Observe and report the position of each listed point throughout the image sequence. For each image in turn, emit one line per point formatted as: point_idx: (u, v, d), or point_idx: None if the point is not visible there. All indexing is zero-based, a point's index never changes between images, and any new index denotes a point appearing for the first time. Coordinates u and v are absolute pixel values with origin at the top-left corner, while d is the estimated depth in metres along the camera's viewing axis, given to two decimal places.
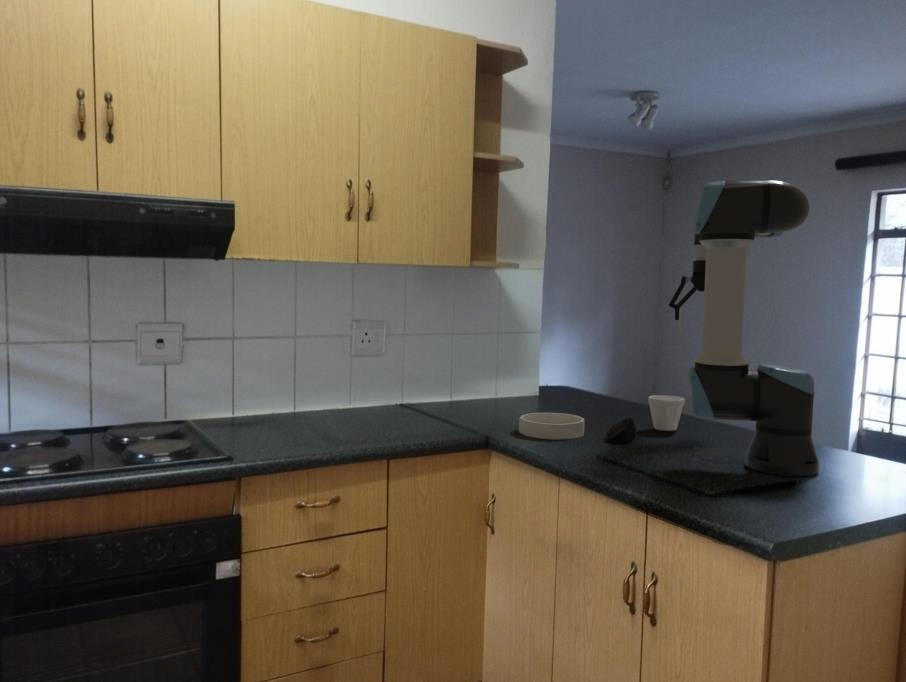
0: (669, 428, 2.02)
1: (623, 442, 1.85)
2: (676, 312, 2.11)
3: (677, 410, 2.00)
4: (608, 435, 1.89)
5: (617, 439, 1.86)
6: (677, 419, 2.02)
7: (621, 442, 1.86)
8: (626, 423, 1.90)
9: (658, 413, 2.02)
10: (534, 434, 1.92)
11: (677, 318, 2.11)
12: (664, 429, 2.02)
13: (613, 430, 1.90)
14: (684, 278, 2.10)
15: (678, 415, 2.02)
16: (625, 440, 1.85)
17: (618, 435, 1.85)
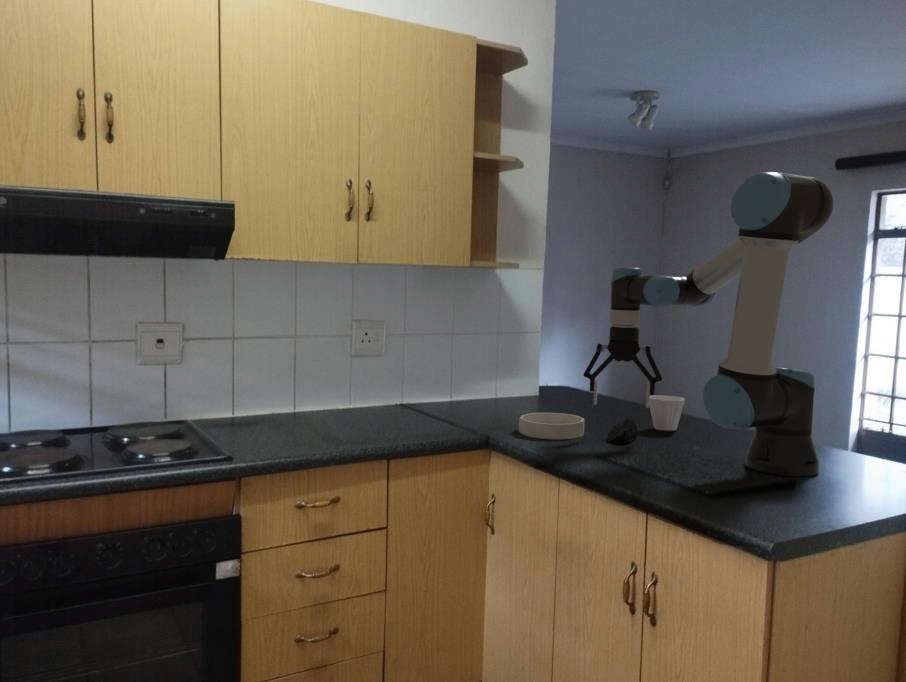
0: (669, 428, 2.02)
1: (625, 443, 1.85)
2: (591, 383, 1.91)
3: (677, 410, 2.00)
4: (610, 436, 1.88)
5: (619, 440, 1.85)
6: (677, 419, 2.02)
7: (623, 443, 1.85)
8: (628, 423, 1.89)
9: (658, 413, 2.02)
10: (534, 434, 1.92)
11: (592, 389, 1.91)
12: (664, 429, 2.02)
13: (615, 431, 1.89)
14: (600, 346, 1.89)
15: (678, 415, 2.02)
16: (627, 441, 1.85)
17: (620, 436, 1.85)
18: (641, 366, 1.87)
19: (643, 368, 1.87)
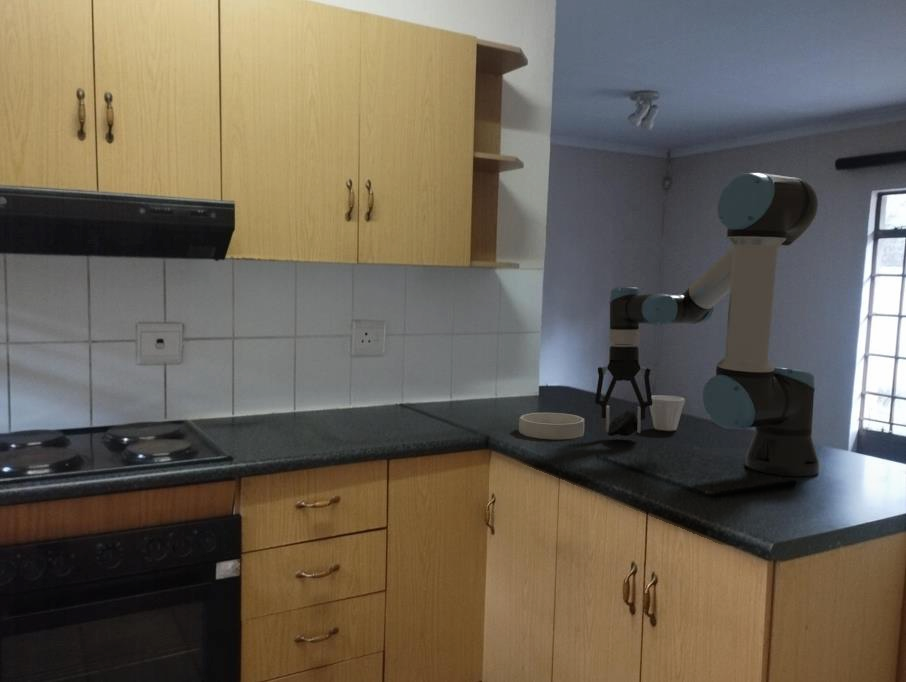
0: (669, 428, 2.02)
1: (627, 434, 1.83)
2: (603, 409, 1.90)
3: (677, 410, 2.00)
4: (611, 428, 1.87)
5: (621, 431, 1.83)
6: (677, 419, 2.02)
7: (625, 434, 1.83)
8: (628, 415, 1.87)
9: (658, 413, 2.02)
10: (534, 434, 1.92)
11: (604, 416, 1.90)
12: (664, 429, 2.02)
13: (616, 423, 1.88)
14: (600, 369, 1.89)
15: (678, 415, 2.02)
16: (629, 432, 1.83)
17: (622, 427, 1.83)
18: (636, 388, 1.87)
19: (638, 391, 1.87)
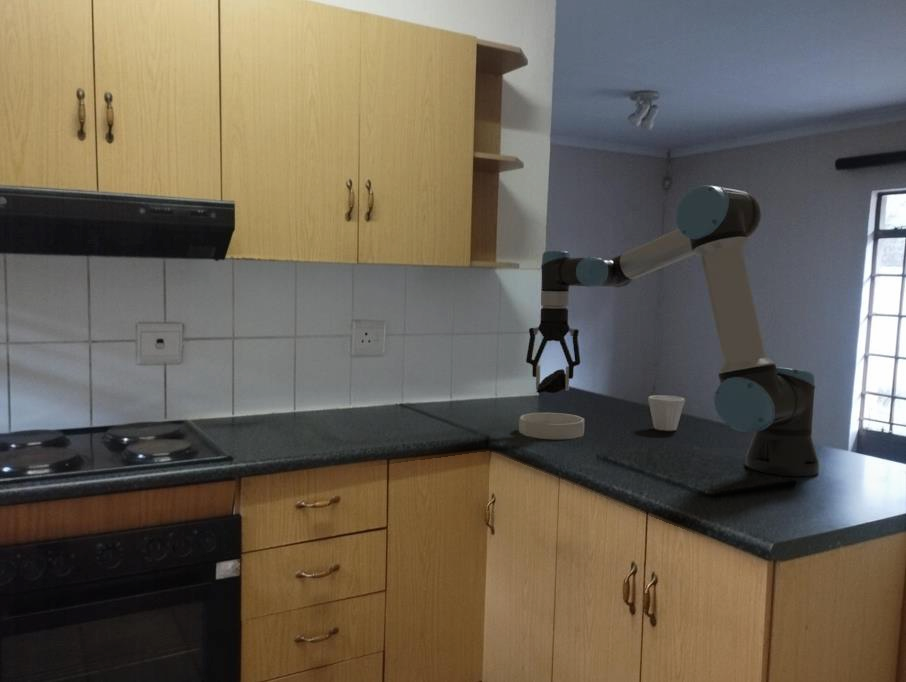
0: (669, 428, 2.02)
1: (554, 391, 1.92)
2: (533, 368, 1.98)
3: (677, 410, 2.00)
4: (540, 385, 1.95)
5: (548, 388, 1.92)
6: (677, 419, 2.02)
7: (552, 391, 1.92)
8: (557, 374, 1.96)
9: (658, 413, 2.02)
10: (534, 434, 1.92)
11: (535, 375, 1.98)
12: (664, 429, 2.02)
13: (545, 381, 1.96)
14: (531, 330, 1.97)
15: (678, 415, 2.02)
16: (555, 389, 1.92)
17: (549, 384, 1.92)
18: (565, 348, 1.95)
19: (566, 351, 1.95)
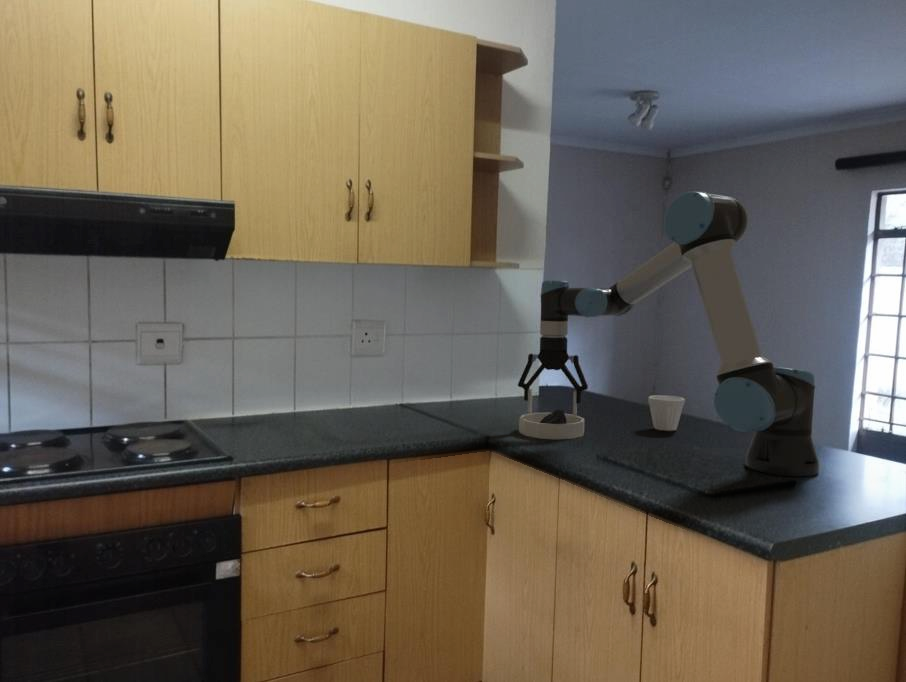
0: (669, 428, 2.02)
1: None
2: (525, 392, 1.99)
3: (677, 410, 2.00)
4: None
5: None
6: (677, 419, 2.02)
7: None
8: (556, 414, 1.97)
9: (658, 413, 2.02)
10: (534, 434, 1.92)
11: (526, 398, 1.99)
12: (664, 429, 2.02)
13: (544, 421, 1.97)
14: (530, 356, 1.98)
15: (678, 415, 2.02)
16: None
17: None
18: (568, 375, 1.95)
19: (570, 377, 1.95)
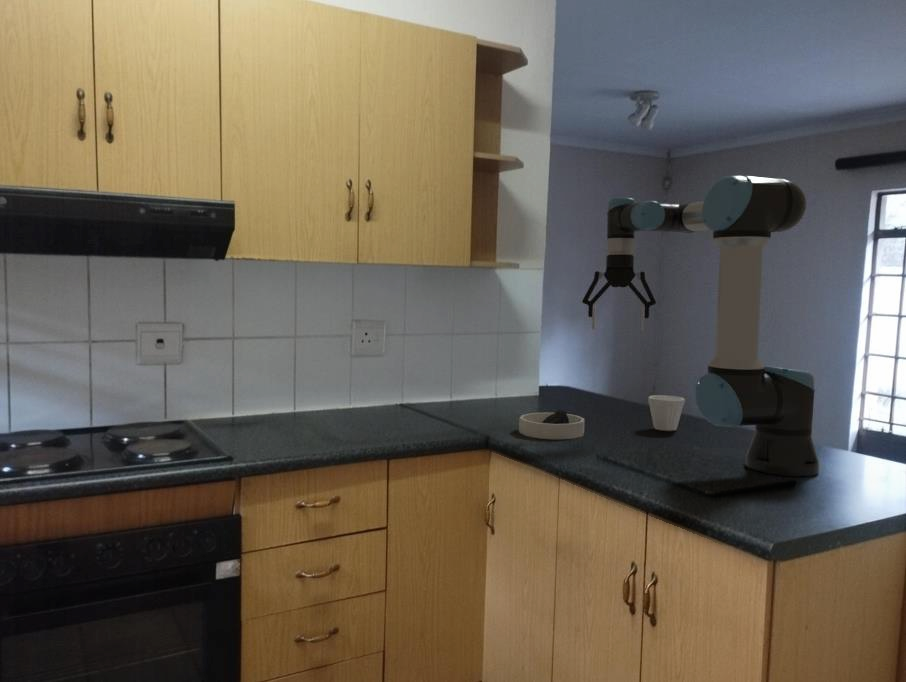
0: (669, 428, 2.02)
1: None
2: (589, 309, 2.03)
3: (677, 410, 2.00)
4: None
5: None
6: (677, 419, 2.02)
7: None
8: (558, 415, 1.96)
9: (658, 413, 2.02)
10: (534, 434, 1.92)
11: (591, 315, 2.03)
12: (664, 429, 2.02)
13: (546, 421, 1.96)
14: (597, 273, 2.01)
15: (678, 415, 2.02)
16: None
17: None
18: (636, 291, 1.99)
19: (638, 293, 1.99)
